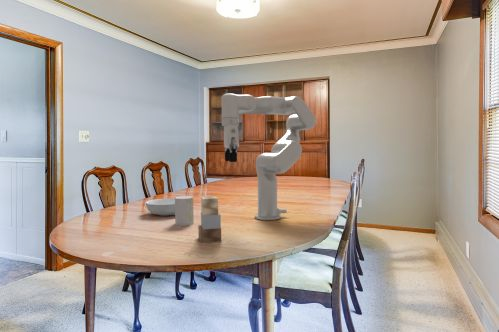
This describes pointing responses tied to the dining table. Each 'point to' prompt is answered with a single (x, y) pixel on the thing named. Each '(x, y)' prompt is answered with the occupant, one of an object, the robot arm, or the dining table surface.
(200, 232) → the walnut block
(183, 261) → the dining table surface
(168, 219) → the dining table surface
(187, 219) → the cup
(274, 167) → the robot arm
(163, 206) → the serving bowl
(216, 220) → the grey block
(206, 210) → the maple cube
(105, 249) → the dining table surface
